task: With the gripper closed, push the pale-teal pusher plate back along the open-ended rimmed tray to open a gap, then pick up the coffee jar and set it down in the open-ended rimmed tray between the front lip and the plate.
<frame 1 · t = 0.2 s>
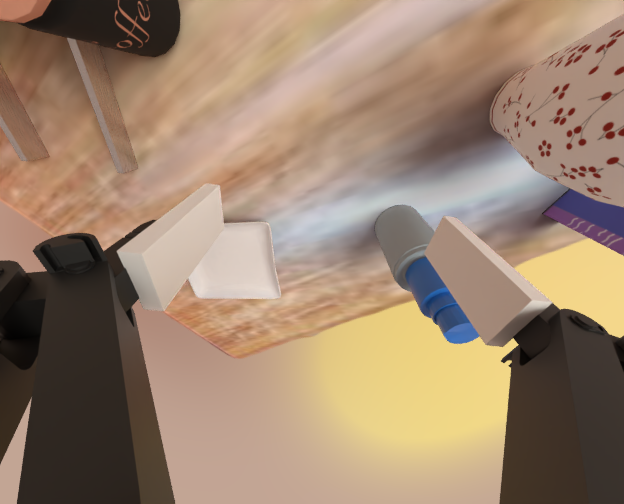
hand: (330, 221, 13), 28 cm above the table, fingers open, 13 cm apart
salad plate: (233, 256, 51), on the table
vase: (520, 102, 32), on the table
cereal box: (598, 175, 38), on the table
coffee jar: (141, 2, 28), on the table
spray bottle: (396, 225, 44), on the table
open-ended rimmed tray: (61, 92, 33), on the table
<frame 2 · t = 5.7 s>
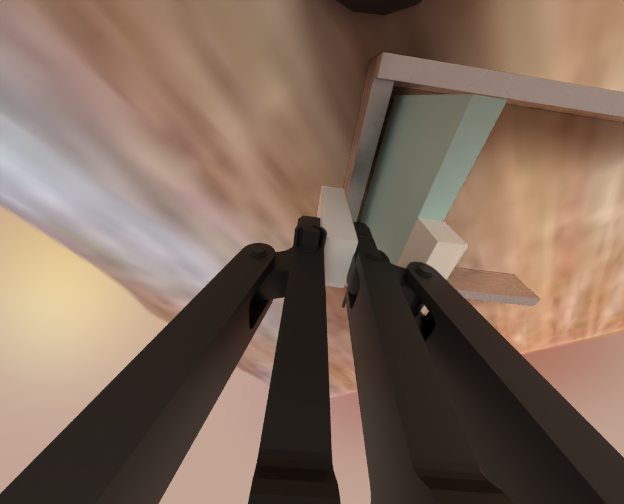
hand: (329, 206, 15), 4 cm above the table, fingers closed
pusher: (393, 222, 14), point 6 cm above the table, slide at 0.6 cm, touching gripper
open-ended rimmed tray: (457, 201, 19), on the table
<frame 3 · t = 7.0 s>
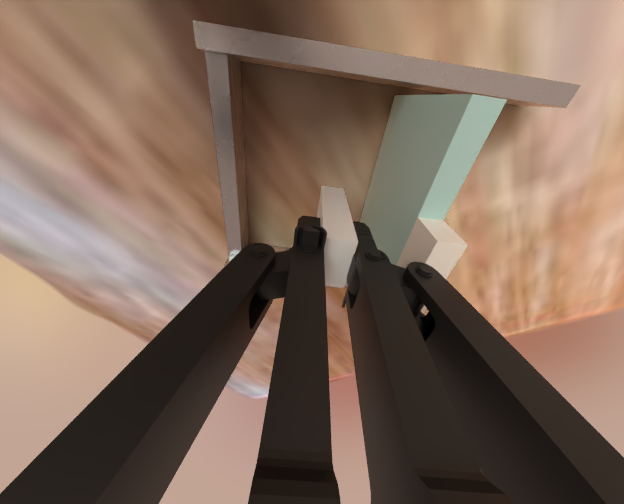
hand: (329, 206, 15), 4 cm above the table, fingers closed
pusher: (393, 221, 14), point 6 cm above the table, slide at 9.9 cm, touching gripper
open-ended rimmed tray: (351, 186, 18), on the table
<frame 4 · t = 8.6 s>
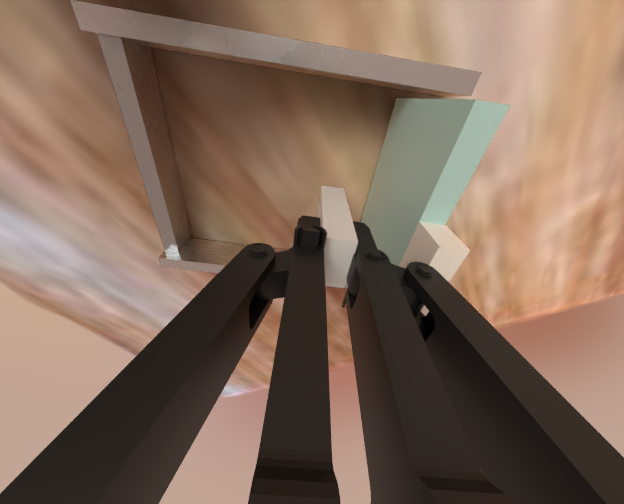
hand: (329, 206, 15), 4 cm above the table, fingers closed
pusher: (394, 225, 14), point 6 cm above the table, slide at 15.5 cm, touching gripper
open-ended rimmed tray: (285, 179, 18), on the table
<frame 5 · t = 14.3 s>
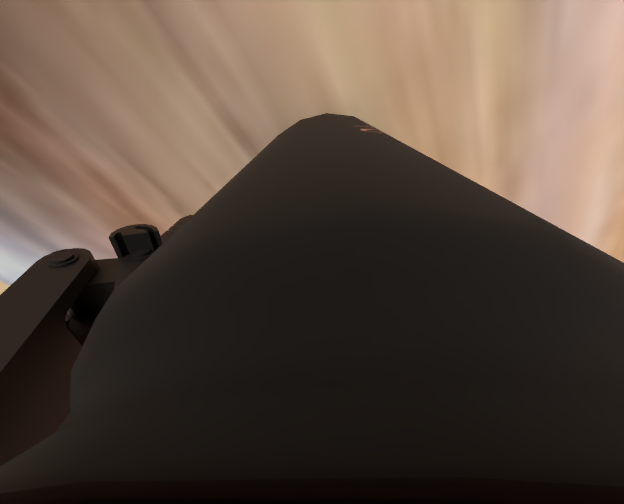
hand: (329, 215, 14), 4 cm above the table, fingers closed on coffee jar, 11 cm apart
coffee jar: (327, 190, 18), on the table, touching gripper
when the fingers open (6 cm above the table, at t = 21.0 s): coffee jar drops 2 cm, resting in open-ended rimmed tray.
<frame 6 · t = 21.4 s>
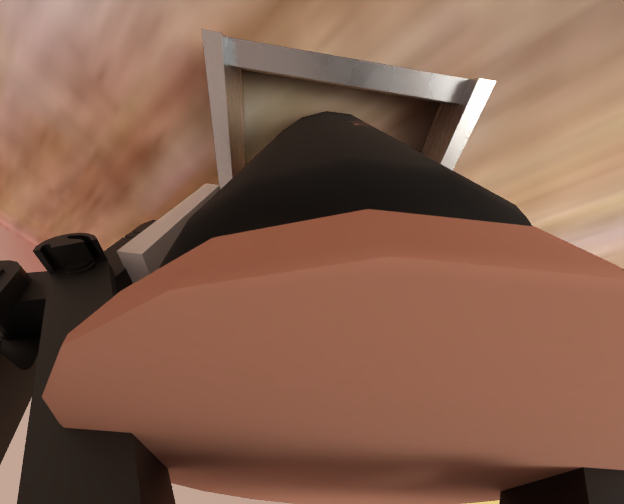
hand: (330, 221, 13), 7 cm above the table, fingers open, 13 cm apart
coffee jar: (327, 182, 19), resting in open-ended rimmed tray
open-ended rimmed tray: (323, 204, 20), on the table
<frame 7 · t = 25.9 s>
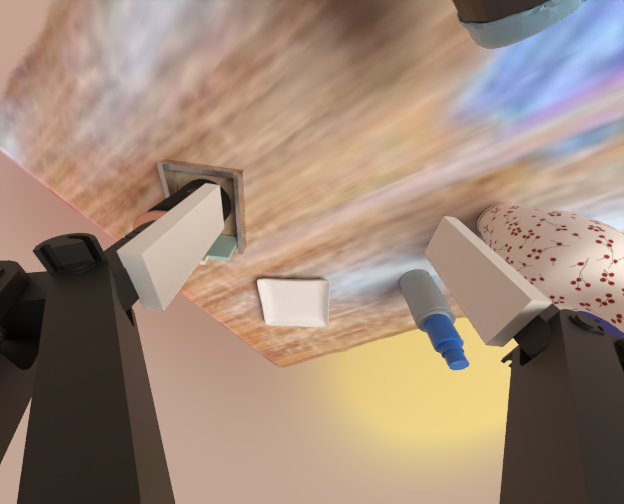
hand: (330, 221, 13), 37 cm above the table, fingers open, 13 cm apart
salad plate: (296, 297, 71), on the table
pusher: (205, 247, 52), point 6 cm above the table, slide at 15.5 cm
vase: (495, 218, 53), on the table
cereal box: (547, 255, 58), on the table
coffee jar: (210, 199, 52), resting in open-ended rimmed tray
spray bottle: (414, 280, 65), on the table
open-ended rimmed tray: (211, 208, 53), on the table
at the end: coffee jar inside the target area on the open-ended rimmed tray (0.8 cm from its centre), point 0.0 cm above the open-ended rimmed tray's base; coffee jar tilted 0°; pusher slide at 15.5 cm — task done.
